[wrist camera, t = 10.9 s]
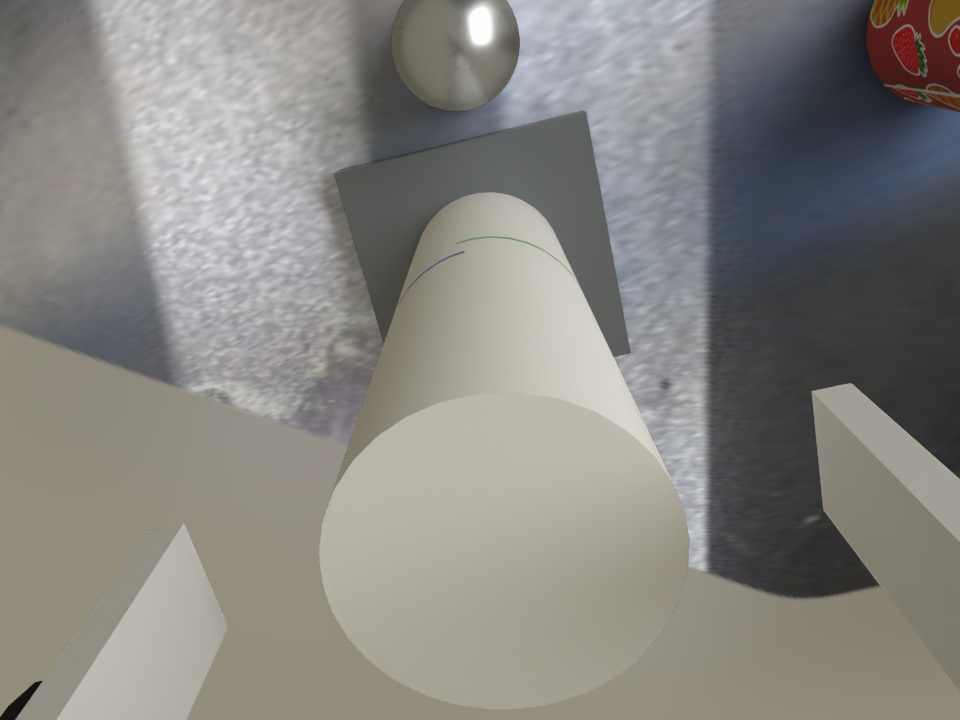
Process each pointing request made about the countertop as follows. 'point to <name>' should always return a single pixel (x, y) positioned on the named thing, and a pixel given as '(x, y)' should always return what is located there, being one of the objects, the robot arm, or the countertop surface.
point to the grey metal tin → (455, 50)
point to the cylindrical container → (500, 481)
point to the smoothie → (917, 49)
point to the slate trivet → (479, 169)
